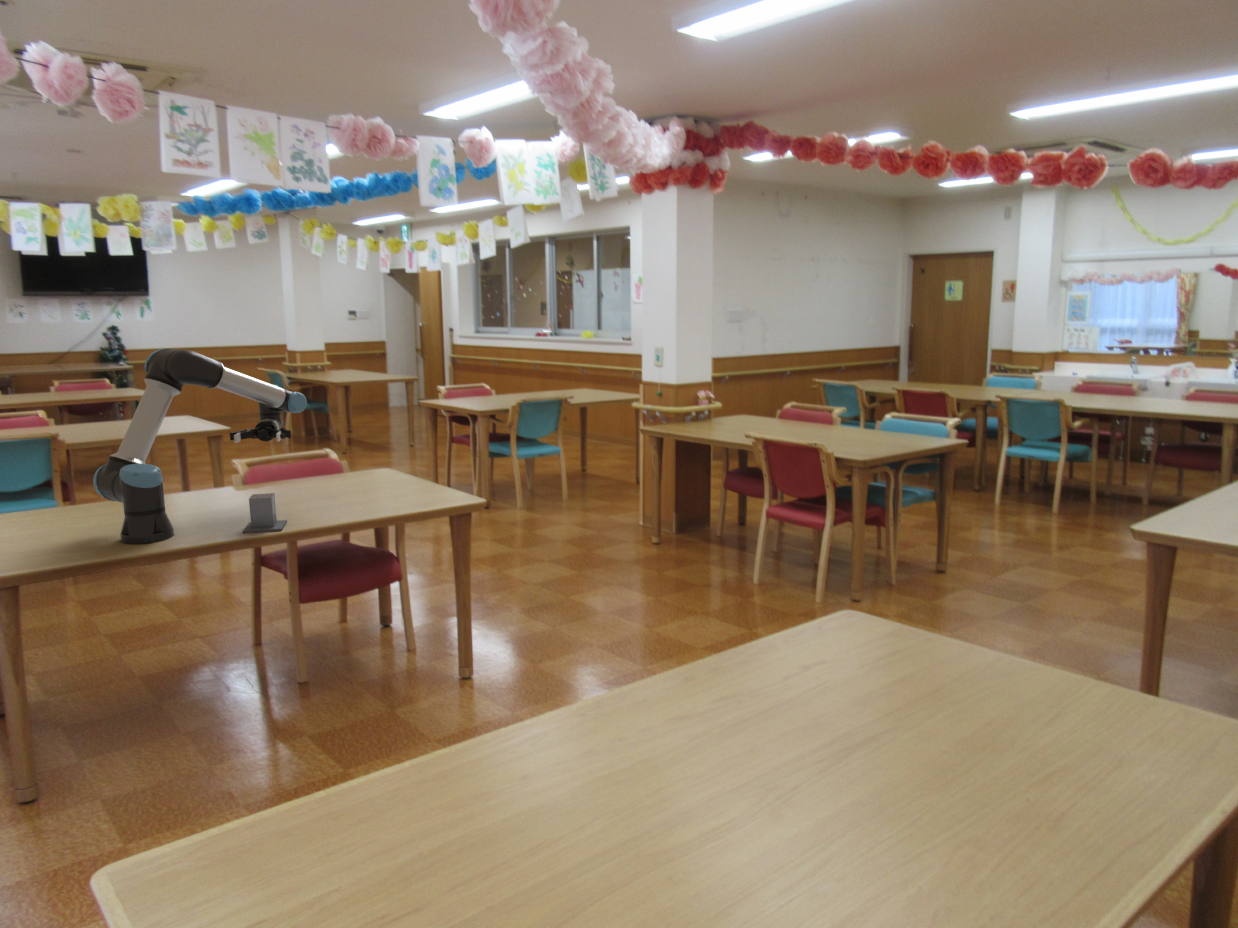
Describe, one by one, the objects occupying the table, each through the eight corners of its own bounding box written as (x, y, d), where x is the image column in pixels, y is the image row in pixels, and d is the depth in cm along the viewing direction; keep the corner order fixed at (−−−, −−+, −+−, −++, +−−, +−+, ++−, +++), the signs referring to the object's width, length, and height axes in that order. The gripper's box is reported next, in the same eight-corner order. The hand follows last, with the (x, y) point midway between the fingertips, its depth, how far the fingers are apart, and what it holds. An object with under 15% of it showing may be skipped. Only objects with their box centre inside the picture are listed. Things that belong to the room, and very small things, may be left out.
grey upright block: (251, 528, 290) (248, 498, 288) (254, 523, 297) (252, 494, 295) (273, 527, 292) (271, 497, 290) (276, 521, 298) (274, 493, 297)
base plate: (242, 533, 287) (242, 530, 287) (249, 524, 299) (249, 521, 299) (281, 530, 290) (281, 528, 290) (286, 522, 301) (286, 519, 301)
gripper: (303, 438, 326) (295, 447, 306) (231, 441, 321) (218, 451, 301) (301, 418, 325) (294, 426, 305) (229, 421, 320) (216, 429, 299)
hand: (256, 438), depth 303 cm, fingers open, 13 cm apart
